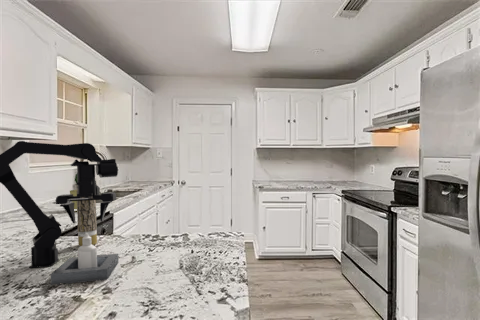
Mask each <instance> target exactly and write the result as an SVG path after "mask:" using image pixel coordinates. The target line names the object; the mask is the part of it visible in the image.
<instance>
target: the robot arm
mask: <svg viewBox="0 0 480 320" xmlns="http://www.w3.org/2000/svg"><path fill="white" fill-rule="evenodd" d="M96 152H97V151H96V148H95V146H94V145H93V144H92V143H89V142H85V143H84V142H83V143H73V144H56V143H45V142H31V141H29V142H28V141H25V140H19V141H17V142H15V144H14V145H13V146H11V147H9V148H8V149H6V150H5V151H3V152H2V153H0V184H2V186H4V187H5V189H6V190H7V191H8V192H9V194H10V195H11V196H12V197H13V198H14V200H16V202H17V203H18V204H19V206H20V207H21V208H22V209H23V210H24V212H25V213H26V214H27V216H29V218H30V219H31V220H32V221H33V223H34V225H35V228H36V230H37V231H38V233H37V234H36V235H35V236H33V238H32V242H33V246H32V247H30V249H31V250H30V252H31V254H30V255H31V265H29V266H28V267H29V269H35V268H45V267H47V268H48V267H51V266H53V265H54V264H55V263H57V262H58V261H59V260H60V259H59V249H58V247H57V243H56V241H57V240H58V239H59V238H60V237H61V236H62V229H61V227H62V224H61V223H60V222H59V221H57V219H56V217H55V215H53V213H51V214H50V215H47V214H45V213H44V211H43V210H42V209H41V208H40V207H39V206H38V204H37V203H36V201H35V200H34V199H33V198H32V196H31V195H29V193H28V192H27V190H26V189H25V187H23V186H22V184H21V183H20V181H18V179H17V178H16V175H15V173H14V171H13V169H12V168H11V166H10V164H12V163H14V161H16V160H17V159H18V158H20V157H22V156H23V155H24V154H31V155H46V156H47V155H48V156H50V155H52V156H63V157H64V156H65V157H69V158H74V161H73V162H72V163H71V164H70V167H76V172H77V181H78V182H77V185H78V194H77V196H73V194H70V193H68V194H66V193H65V194H60V195H57V196H56V197H55V205H59V207H60V208H61V207H63V209H64V211H65V212H66V213H67V215H68V217H69V218H70V220H71V222H72V224H75V223H76V214H75V213H76V212H74V204H75V202H74V203H72V201H87V200H96V201H101V202H100V204H99V205H100V206H99V207H100V208H99V209H100V210H99V216H100V217H99V218H100V222H103V220H104V217H105V214H106V211H107V208H108V206H109V205H110V204H112V203H113V202H114V201H115V200H117V194H116V192H115V191H113V192H112V191H111V192H110V191H109V192H103V193H101V192H100V191H101V187H99V186H98V184H97V180H96V176H99V179H100V178H103V179H104V178H116V177H118V173H119V168H118V164H117V162H116V161H117V159H116V158H109V159H102V158H101V157H100V155H98V154H97V153H96ZM79 160H83V161H79ZM91 163H92V164H91ZM81 197H85V198H81Z"/></svg>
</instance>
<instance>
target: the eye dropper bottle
mask: <svg viewBox="0 0 480 320" xmlns="http://www.w3.org/2000/svg"><path fill="white" fill-rule="evenodd" d="M97 251H98V250H97V247H96V246H95V245H92V244H91V237H90V236H89V235H88V233H85V237H83V238H82V246H79V247H78V249H77V257H78V269H81V268H92V267H97V255H98V253H97Z"/></svg>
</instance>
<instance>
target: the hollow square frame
mask: <svg viewBox="0 0 480 320" xmlns="http://www.w3.org/2000/svg"><path fill="white" fill-rule="evenodd" d="M118 264H119V253H109V254H97V267H92V268H81V269H78V256H73V257H69V258H68V259H67V260H66V261H64V263H62V264H61V265H60V266H59V267H57V268H56V269H55V270H54V271H53V272H51V273H50V286H53V285H52V284H57V285H61V284H60V283H68V284H76V282H78V283H86V282H87V281H88V282H95V281H96V280H98V281H107V279H109V278H110V276H111V275H112V273H113V272H114V270H115V268H116V267H117V265H118ZM73 282H74V283H73ZM96 282H97V281H96Z"/></svg>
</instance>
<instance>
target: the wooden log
mask: <svg viewBox="0 0 480 320" xmlns="http://www.w3.org/2000/svg"><path fill="white" fill-rule="evenodd" d="M75 187H76V190H77V194H78V185H76V184H75ZM81 198H85V197H81ZM96 202H97V200H87V201H77V212H76V213H77V215H76V216H77V238H78V239H77V241H78V242H77V243H78V246H79V247H80V246H82V238H83V237H85V233H88V235H89V236H90V237H91V244H92V245H94V246H95V245H96V244H97V243H98V239H97V238H98V231H97V228H98V227H97V225H98V223H97V203H96Z"/></svg>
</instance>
